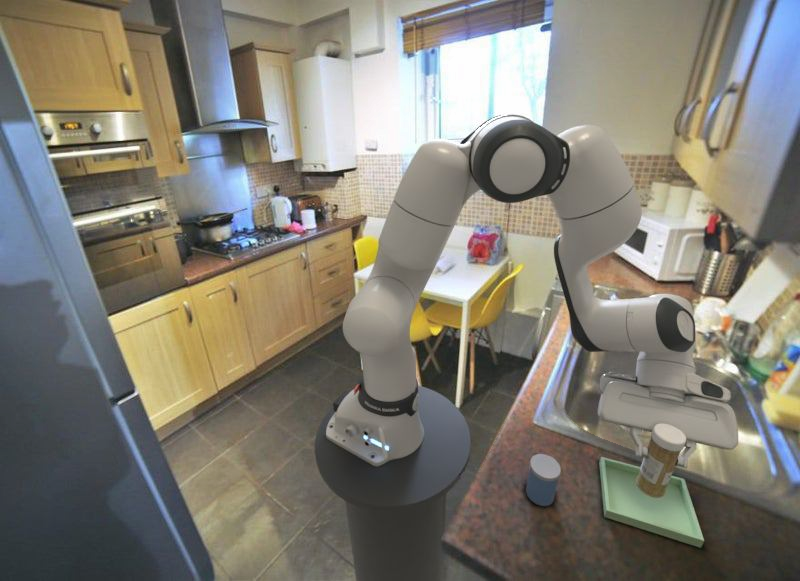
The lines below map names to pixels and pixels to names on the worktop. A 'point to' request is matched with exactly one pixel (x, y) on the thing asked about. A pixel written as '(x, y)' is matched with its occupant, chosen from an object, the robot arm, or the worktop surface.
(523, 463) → the worktop surface
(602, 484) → the sage tray
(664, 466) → the sprinkles bottle
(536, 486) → the blue tin
